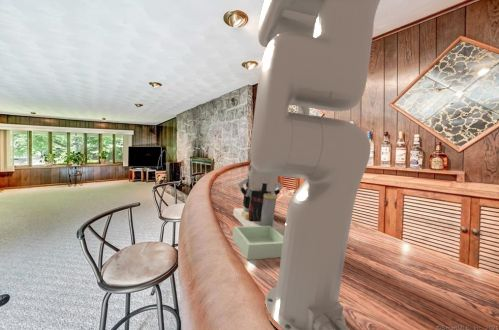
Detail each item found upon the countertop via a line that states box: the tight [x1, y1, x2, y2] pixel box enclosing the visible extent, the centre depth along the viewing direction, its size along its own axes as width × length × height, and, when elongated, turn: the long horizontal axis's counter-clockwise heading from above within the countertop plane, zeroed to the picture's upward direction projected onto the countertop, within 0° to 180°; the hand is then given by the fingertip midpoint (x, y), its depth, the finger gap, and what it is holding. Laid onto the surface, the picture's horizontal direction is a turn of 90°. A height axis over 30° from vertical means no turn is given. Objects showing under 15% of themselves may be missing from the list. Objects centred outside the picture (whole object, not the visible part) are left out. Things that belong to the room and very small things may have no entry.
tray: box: [231, 225, 284, 261], centre depth 58 cm, size 12×12×4 cm
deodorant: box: [248, 183, 269, 222], centre depth 75 cm, size 6×6×15 cm
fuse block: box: [232, 186, 285, 236], centre depth 75 cm, size 21×10×12 cm, turn 22°
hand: (258, 207), depth 75 cm, fingers open, 8 cm apart
